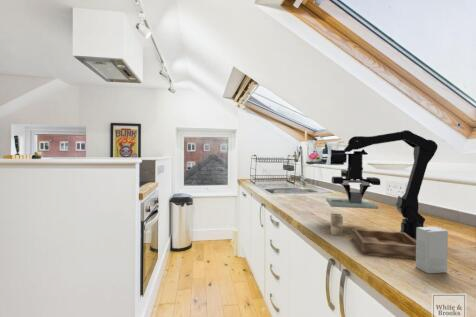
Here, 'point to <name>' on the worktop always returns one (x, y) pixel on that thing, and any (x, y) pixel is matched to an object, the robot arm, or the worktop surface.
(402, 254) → the toolbox base
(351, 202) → the toolbox lid
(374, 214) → the worktop surface
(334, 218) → the beige rectangular block
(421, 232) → the skincare box
